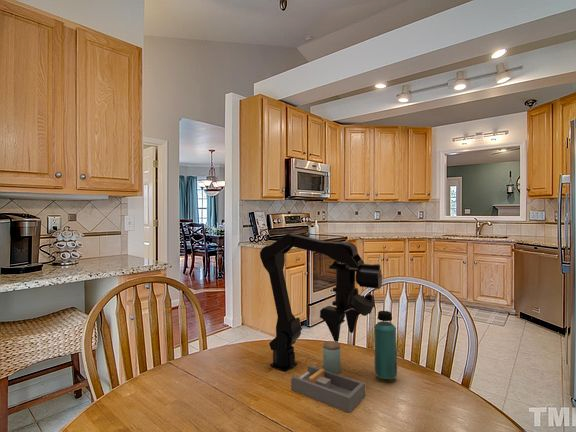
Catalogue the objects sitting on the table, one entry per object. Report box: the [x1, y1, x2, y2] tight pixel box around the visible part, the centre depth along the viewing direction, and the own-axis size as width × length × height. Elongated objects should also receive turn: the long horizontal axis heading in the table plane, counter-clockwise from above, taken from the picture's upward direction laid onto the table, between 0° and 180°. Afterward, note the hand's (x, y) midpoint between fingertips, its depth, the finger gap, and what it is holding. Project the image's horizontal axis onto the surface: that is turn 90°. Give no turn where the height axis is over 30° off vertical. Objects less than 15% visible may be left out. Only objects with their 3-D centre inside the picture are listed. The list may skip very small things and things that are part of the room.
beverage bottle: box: [373, 310, 398, 380], centre depth 97 cm, size 6×7×20 cm
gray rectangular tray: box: [290, 364, 366, 414], centre depth 90 cm, size 18×9×4 cm, turn 53°
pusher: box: [309, 368, 331, 388], centre depth 91 cm, size 4×7×3 cm, turn 143°
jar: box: [322, 340, 342, 374], centre depth 104 cm, size 6×6×8 cm
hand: (344, 336), depth 98 cm, fingers open, 9 cm apart
